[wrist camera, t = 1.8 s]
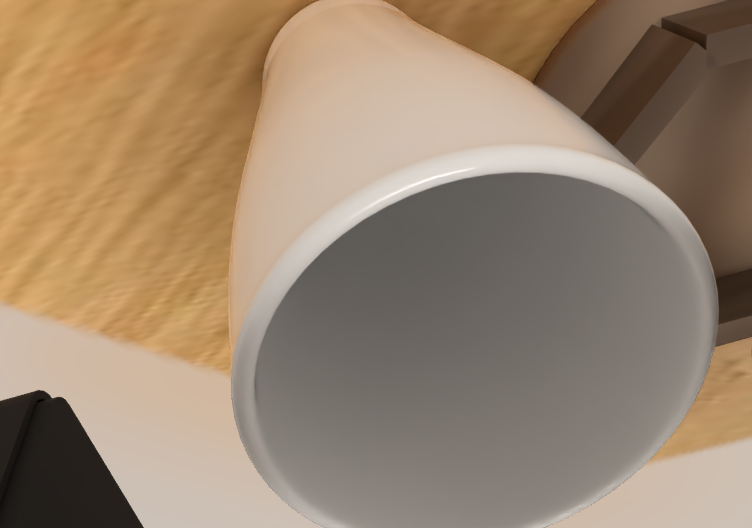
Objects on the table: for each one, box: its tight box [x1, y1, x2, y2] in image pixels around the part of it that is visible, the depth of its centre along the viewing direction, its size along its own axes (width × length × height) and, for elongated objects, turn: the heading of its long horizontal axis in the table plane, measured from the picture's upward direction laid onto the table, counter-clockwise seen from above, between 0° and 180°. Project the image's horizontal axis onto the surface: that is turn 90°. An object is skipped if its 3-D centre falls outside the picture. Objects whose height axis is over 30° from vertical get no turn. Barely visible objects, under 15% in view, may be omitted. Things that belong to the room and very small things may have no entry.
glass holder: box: [533, 0, 752, 347], centre depth 24 cm, size 15×15×4 cm
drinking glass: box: [228, 0, 719, 528], centre depth 16 cm, size 7×7×15 cm
